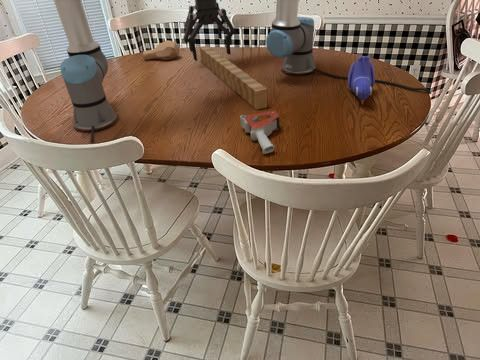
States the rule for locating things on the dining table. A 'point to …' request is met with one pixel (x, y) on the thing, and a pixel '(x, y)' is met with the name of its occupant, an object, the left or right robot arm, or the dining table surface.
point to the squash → (163, 51)
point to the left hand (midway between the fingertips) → (212, 56)
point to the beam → (235, 78)
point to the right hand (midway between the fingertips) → (207, 40)
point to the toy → (361, 78)
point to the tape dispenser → (261, 128)
